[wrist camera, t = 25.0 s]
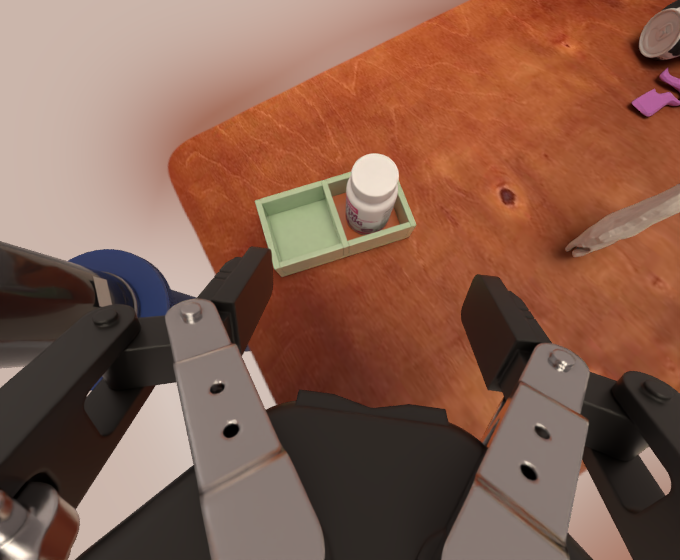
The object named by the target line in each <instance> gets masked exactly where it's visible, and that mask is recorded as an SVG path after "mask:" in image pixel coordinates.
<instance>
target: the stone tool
mask: <svg viewBox="0 0 680 560" xmlns="http://www.w3.org/2000/svg"><path fill="white" fill-rule="evenodd" d="M679 212H680V184H678V185H676V186H674V187H672V188H670V189H668V190H667V191H665V192H663V193H661V194H658V195H656V196H653V197H651V198H648V199H646V200H643V201H641V202H639V203H637V204H634V205H632V206H629V207H626V208H623V209H621V210H618V211H616V212H613V213H611V214H609V215H607V216H605V217H604V218H603V219H601V220H600V221H598V222H597V223H596V224H594V225H593V226H591V227H590V228H588V229H586V230H585V231H584V232H583V233H582V234H581V235H580V236H578V237H577V238H576V239H574V240H573V241H572V242H570V243H569V244H568V246H567V247H566V248H565V250H566V251H567V252H568V251H570V250H571V249H573V248H574V247H576V246H577V248H576V249H575V250H574V251H573V252H572V255H573V256H574V257H579V256H583V255H586V254H588V253H590V252H593V251H596V250H599V249H602V248H605V247H607V246H609V245H611V244H613V243H615V242H616V241H618V240H620V239H625V238H629V237H632V236H635V235H637V234H638V233H640V232H641V231H643V230H644V229H646V228H648V227H649V226H651V225H653V224H655V223H657V222H659V221H661V220H664V219H666V218H668V217H670V216H673V215H675V214H677V213H679Z"/></svg>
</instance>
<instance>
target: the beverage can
mask: <svg viewBox="0 0 680 560" xmlns="http://www.w3.org/2000/svg"><path fill="white" fill-rule="evenodd" d="M639 49H640V51H641V53H642V54H643V55H644V56H646V57H649V58H652V59H655V60H667V59H671V58H675V57H679V56H680V0H677V1H675V2H673V3H672V4H670V5H668V6H667V7H665V8H664V9H663V10H662V11H661V12H659V13H658V14H656V15H655V16H654V17H653V18H651V19H650V20H649V22H648V23H647V24H646V26H645V27H644V29H643V31H642V33H641V36H640V40H639Z"/></svg>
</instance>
